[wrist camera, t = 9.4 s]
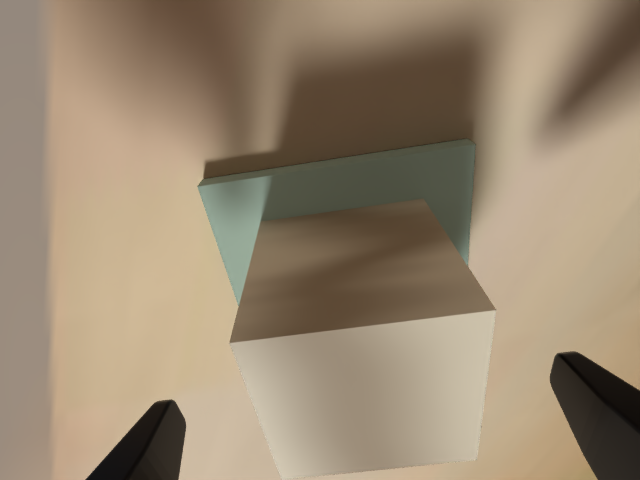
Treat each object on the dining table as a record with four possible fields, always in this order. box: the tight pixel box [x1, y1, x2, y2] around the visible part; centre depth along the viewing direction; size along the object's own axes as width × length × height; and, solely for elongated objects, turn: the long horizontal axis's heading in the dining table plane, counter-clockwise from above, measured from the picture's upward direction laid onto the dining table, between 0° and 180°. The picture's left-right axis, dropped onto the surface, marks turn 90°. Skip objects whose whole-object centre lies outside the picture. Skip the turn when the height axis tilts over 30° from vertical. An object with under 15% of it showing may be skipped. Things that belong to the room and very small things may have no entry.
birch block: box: [230, 198, 496, 480], centre depth 10 cm, size 5×5×5 cm
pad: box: [198, 139, 476, 306], centre depth 13 cm, size 8×8×1 cm
